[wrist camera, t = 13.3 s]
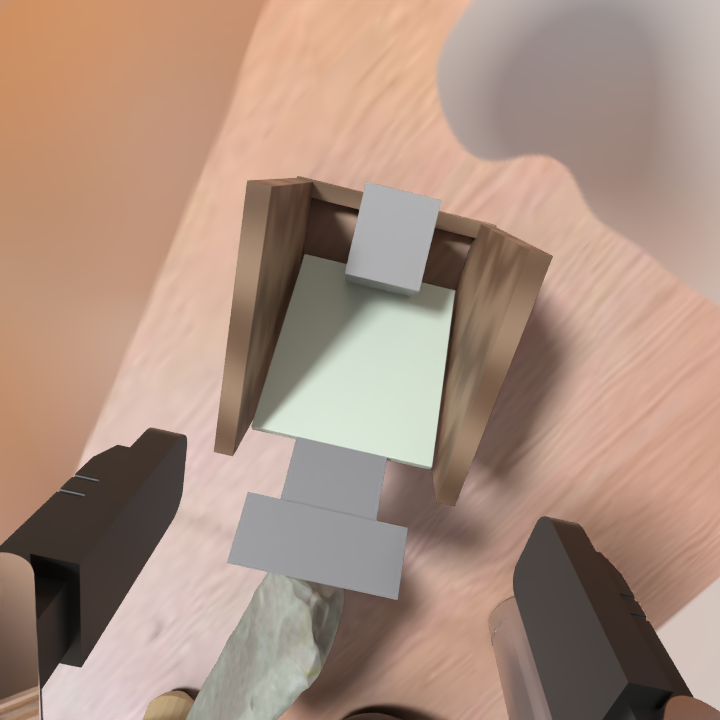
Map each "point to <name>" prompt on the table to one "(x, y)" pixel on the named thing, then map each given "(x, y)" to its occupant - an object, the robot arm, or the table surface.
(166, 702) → the decorative mushroom
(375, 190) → the gray block
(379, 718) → the coal bowl
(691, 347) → the table surface
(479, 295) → the wooden bench shelf
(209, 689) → the rock
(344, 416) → the trapdoor
